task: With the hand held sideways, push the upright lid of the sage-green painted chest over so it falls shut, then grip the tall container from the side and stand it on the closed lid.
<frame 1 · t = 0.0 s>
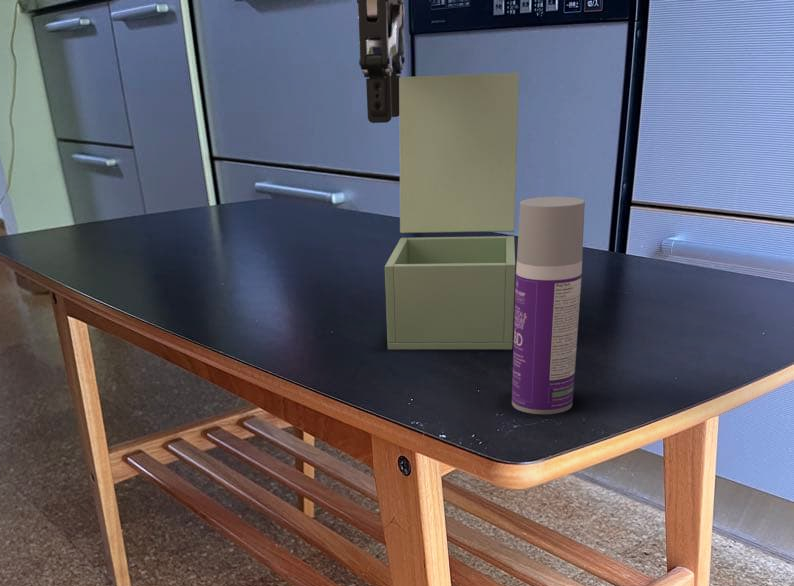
hand: (385, 119, 86), 19 cm above the table, tool pointing down, fingers open, 8 cm apart
chest: (453, 330, 87), on the table
container: (541, 408, 68), on the table
lid: (457, 155, 87), point 15 cm above the table, hinge at 103.0°
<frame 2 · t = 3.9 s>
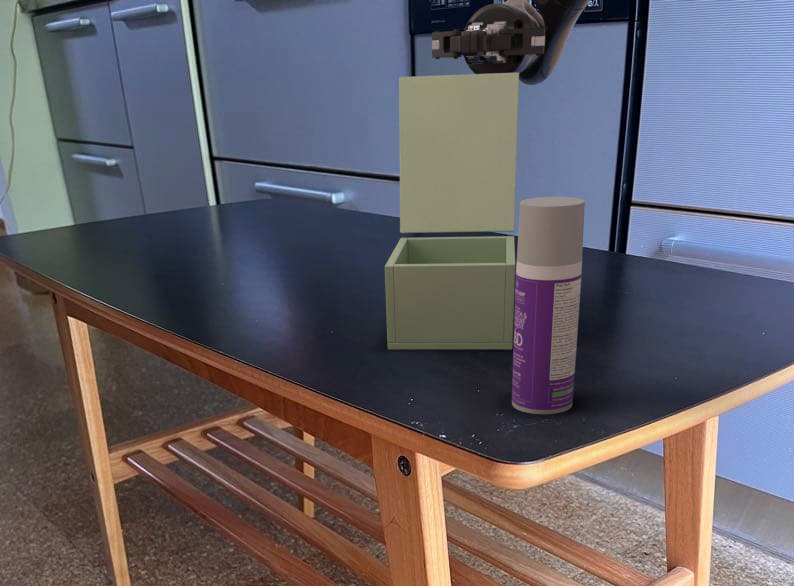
hand: (470, 43, 87), 25 cm above the table, tool horizontal, fingers closed
nothing on the table moved.
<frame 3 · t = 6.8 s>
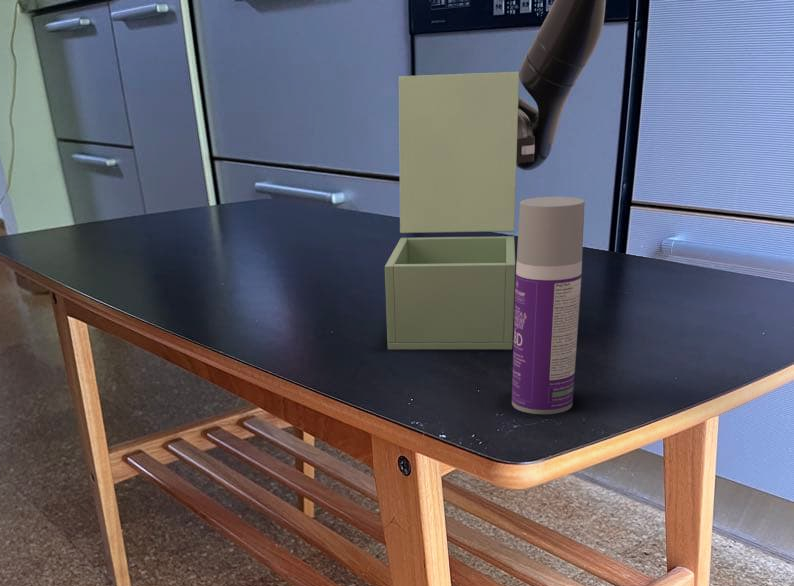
hand: (459, 158, 87), 15 cm above the table, tool horizontal, fingers closed
lid: (457, 155, 87), point 15 cm above the table, hinge at 101.4°, touching gripper
everything else where it was.
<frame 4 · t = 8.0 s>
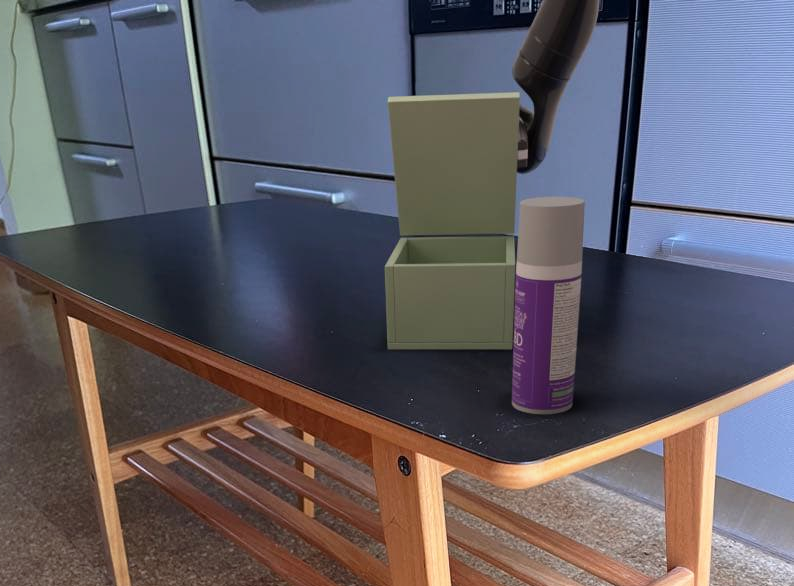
hand: (448, 164, 83), 15 cm above the table, tool horizontal, fingers closed
lid: (455, 169, 83), point 15 cm above the table, hinge at 61.1°
everything else where it was.
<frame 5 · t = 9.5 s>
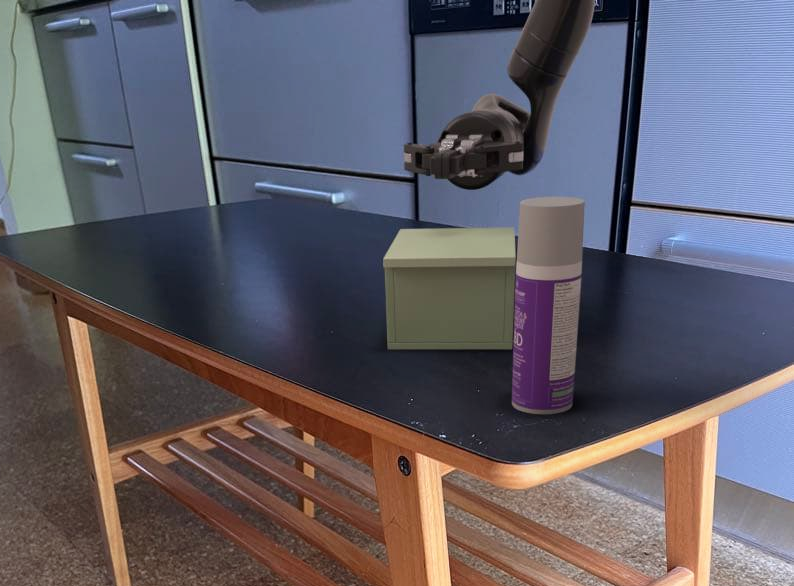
hand: (442, 166, 81), 15 cm above the table, tool horizontal, fingers closed
lid: (453, 246, 83), point 8 cm above the table, hinge at -0.2°
everything else where it was.
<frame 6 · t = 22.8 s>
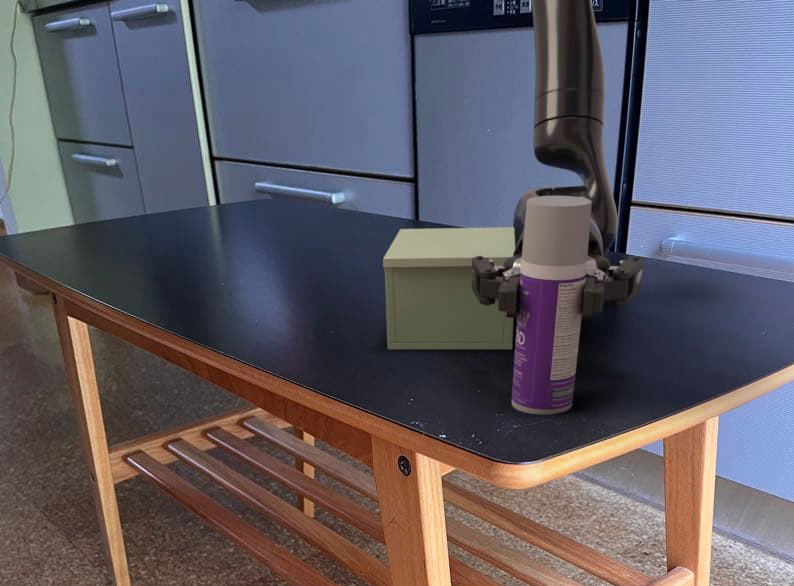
hand: (549, 304, 62), 8 cm above the table, tool horizontal, fingers closed on container, 4 cm apart
container: (541, 407, 68), on the table, touching gripper
lid: (453, 246, 83), point 8 cm above the table, hinge at -0.1°, touching arm
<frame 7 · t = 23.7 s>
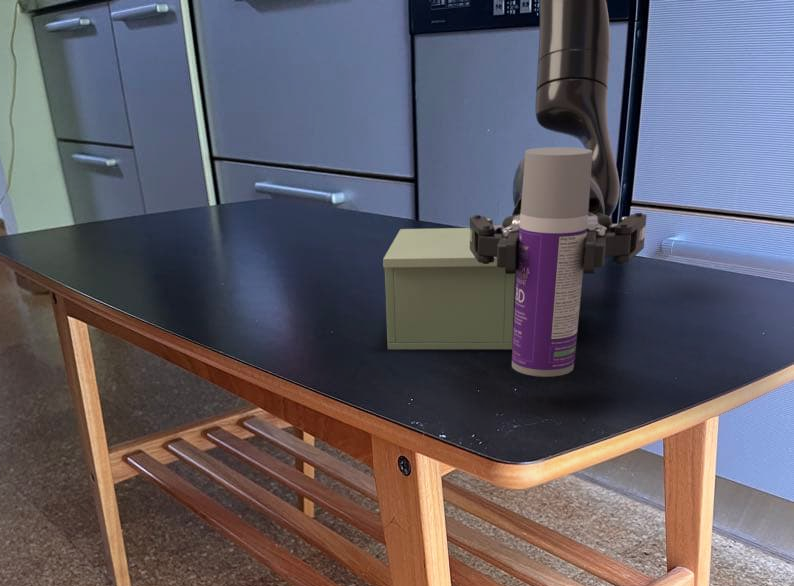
hand: (550, 258, 60), 12 cm above the table, tool horizontal, fingers closed on container, 4 cm apart
container: (542, 369, 66), point 3 cm above the table, touching gripper
lid: (453, 246, 83), point 8 cm above the table, hinge at -0.2°
when the fingers open (17 cm above the table, at t = 30.6 s): container stays where it is, resting on lid.
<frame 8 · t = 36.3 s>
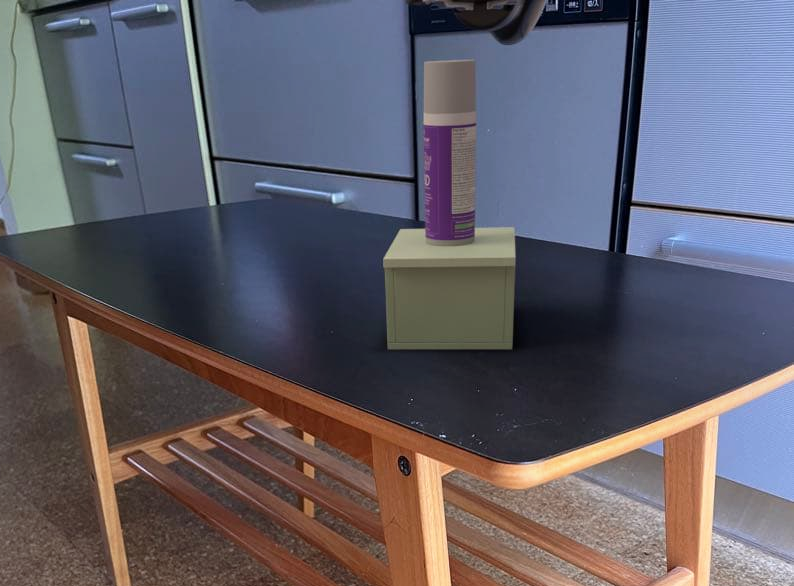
container: (450, 243, 83), point 8 cm above the table, touching lid
lid: (453, 246, 83), point 8 cm above the table, hinge at -0.2°, touching chest, container
at the end: lid at +0° (first picture: +103°); container inside the target area on the chest (0.4 cm from its centre), point 8.5 cm above the chest's base; container tilted 1° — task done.
